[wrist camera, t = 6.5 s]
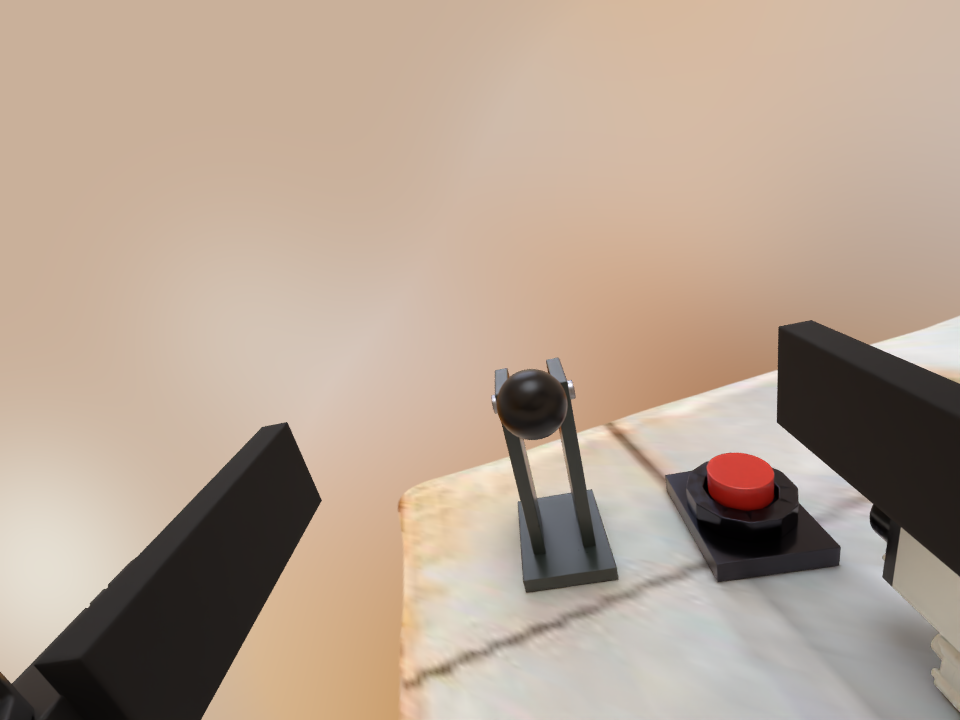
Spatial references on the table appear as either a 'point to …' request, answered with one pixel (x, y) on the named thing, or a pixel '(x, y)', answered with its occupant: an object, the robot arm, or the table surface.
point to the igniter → (740, 481)
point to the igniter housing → (751, 530)
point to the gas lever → (532, 404)
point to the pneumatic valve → (925, 596)
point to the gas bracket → (558, 512)
